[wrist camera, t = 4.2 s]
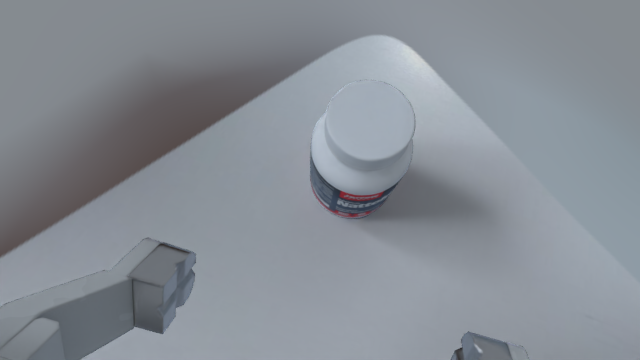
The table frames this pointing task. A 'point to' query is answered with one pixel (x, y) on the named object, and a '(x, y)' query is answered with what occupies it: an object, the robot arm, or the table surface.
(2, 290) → the table surface
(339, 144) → the pill bottle
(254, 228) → the table surface
